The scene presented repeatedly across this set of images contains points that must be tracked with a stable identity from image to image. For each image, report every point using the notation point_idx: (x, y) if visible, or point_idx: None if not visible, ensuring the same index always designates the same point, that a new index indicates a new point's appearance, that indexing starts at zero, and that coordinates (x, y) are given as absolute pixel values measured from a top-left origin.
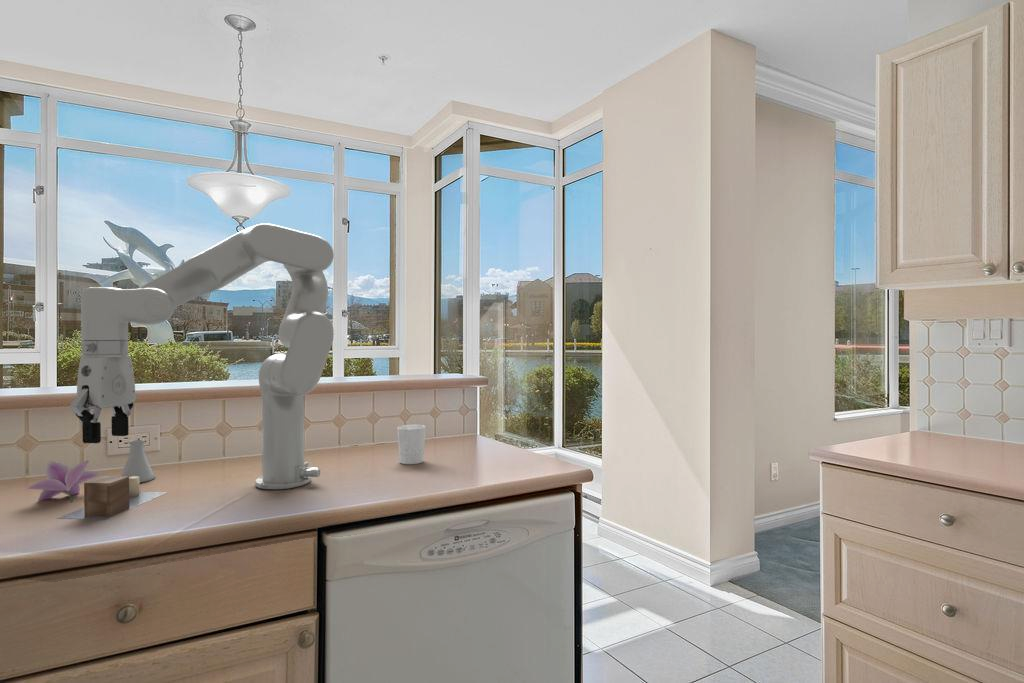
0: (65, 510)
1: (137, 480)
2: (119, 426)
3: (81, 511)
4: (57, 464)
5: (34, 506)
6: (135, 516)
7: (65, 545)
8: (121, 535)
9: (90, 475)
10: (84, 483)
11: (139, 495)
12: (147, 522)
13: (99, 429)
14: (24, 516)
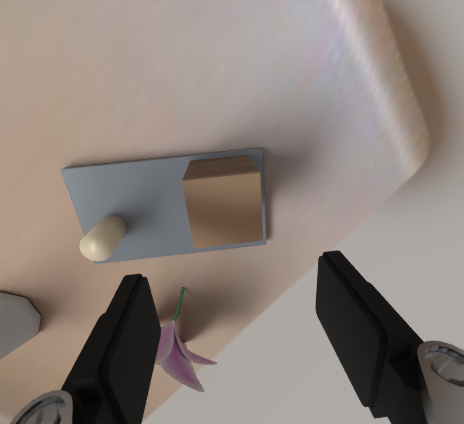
0: (205, 280)
1: (95, 231)
2: (140, 341)
3: None
4: (184, 381)
5: (197, 336)
6: (211, 123)
7: (375, 121)
8: (326, 49)
9: None
10: (262, 239)
11: (105, 214)
12: (243, 57)
13: (369, 295)
14: (243, 309)
